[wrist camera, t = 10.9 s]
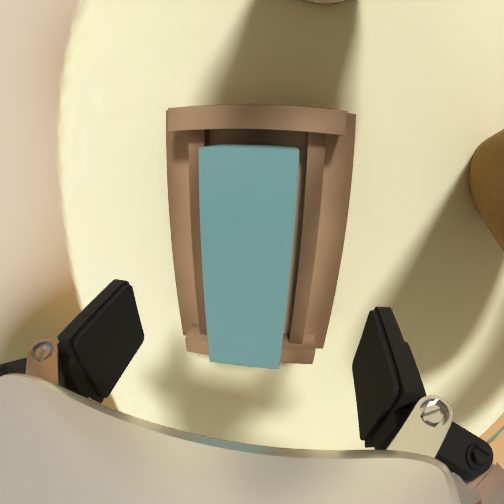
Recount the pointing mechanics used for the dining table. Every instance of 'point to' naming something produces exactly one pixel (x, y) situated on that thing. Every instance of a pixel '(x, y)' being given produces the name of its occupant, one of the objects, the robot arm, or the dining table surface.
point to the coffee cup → (325, 1)
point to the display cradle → (306, 215)
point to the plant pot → (489, 183)
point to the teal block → (247, 248)
